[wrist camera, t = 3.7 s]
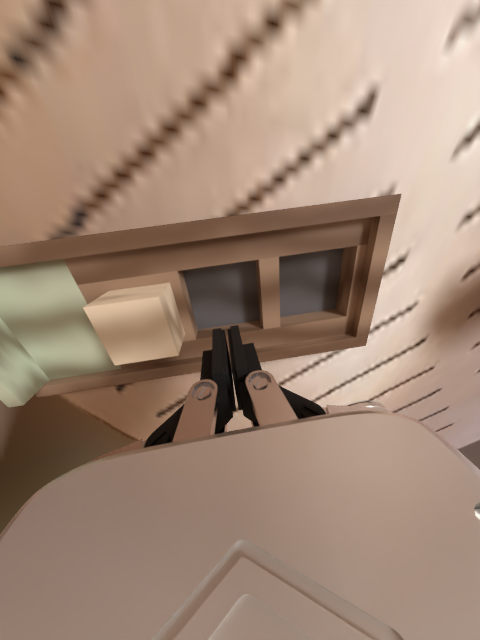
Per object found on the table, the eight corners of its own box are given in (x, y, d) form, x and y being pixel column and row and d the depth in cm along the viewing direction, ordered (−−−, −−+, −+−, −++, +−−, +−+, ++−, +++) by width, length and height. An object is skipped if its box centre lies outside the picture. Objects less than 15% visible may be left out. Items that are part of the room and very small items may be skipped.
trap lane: (348, 331, 27) (380, 358, 22) (59, 376, 26) (17, 416, 20) (372, 197, 20) (429, 189, 14) (-35, 251, 18) (-139, 264, 13)
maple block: (184, 333, 22) (178, 355, 18) (131, 341, 22) (114, 365, 18) (169, 282, 19) (158, 296, 15) (108, 291, 19) (82, 307, 15)
